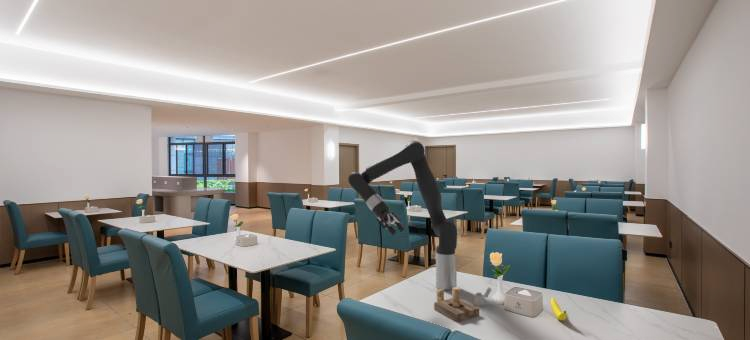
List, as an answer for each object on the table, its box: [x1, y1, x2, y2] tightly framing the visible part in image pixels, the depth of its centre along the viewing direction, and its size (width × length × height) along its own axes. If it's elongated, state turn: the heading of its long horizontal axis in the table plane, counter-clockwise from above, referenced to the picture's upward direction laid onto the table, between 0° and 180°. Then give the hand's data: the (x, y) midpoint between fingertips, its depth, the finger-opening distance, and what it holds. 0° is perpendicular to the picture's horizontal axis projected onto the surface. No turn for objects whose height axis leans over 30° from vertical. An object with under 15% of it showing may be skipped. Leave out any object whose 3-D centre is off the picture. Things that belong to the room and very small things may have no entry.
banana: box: [550, 296, 568, 321], centre depth 149 cm, size 3×19×6 cm, turn 168°
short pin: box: [436, 288, 445, 302], centre depth 168 cm, size 3×3×4 cm
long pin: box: [451, 287, 461, 309], centre depth 155 cm, size 3×3×10 cm
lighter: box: [473, 287, 492, 307], centre depth 162 cm, size 7×2×8 cm, turn 72°
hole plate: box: [433, 297, 480, 323], centre depth 155 cm, size 12×14×3 cm
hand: (399, 232), depth 172 cm, fingers open, 8 cm apart
